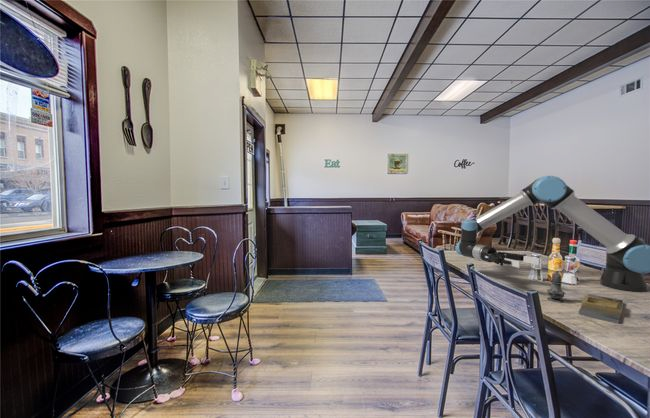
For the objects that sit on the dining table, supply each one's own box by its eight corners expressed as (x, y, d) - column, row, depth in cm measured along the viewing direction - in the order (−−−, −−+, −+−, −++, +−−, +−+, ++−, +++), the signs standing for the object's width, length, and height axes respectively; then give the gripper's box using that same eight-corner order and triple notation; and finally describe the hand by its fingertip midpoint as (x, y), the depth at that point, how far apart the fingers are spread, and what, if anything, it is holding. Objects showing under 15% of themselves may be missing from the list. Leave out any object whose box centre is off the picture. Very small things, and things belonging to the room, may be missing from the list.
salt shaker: (566, 304, 112) (567, 273, 111) (547, 301, 115) (548, 271, 114) (563, 299, 117) (564, 270, 116) (545, 296, 120) (546, 268, 119)
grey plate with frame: (587, 296, 120) (587, 290, 120) (623, 303, 112) (623, 297, 112) (577, 314, 102) (578, 307, 102) (619, 323, 95) (619, 316, 95)
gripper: (501, 258, 149) (546, 268, 130) (466, 263, 139) (510, 274, 119) (501, 244, 149) (547, 252, 129) (467, 247, 138) (511, 257, 119)
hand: (529, 263), depth 124 cm, fingers open, 13 cm apart
